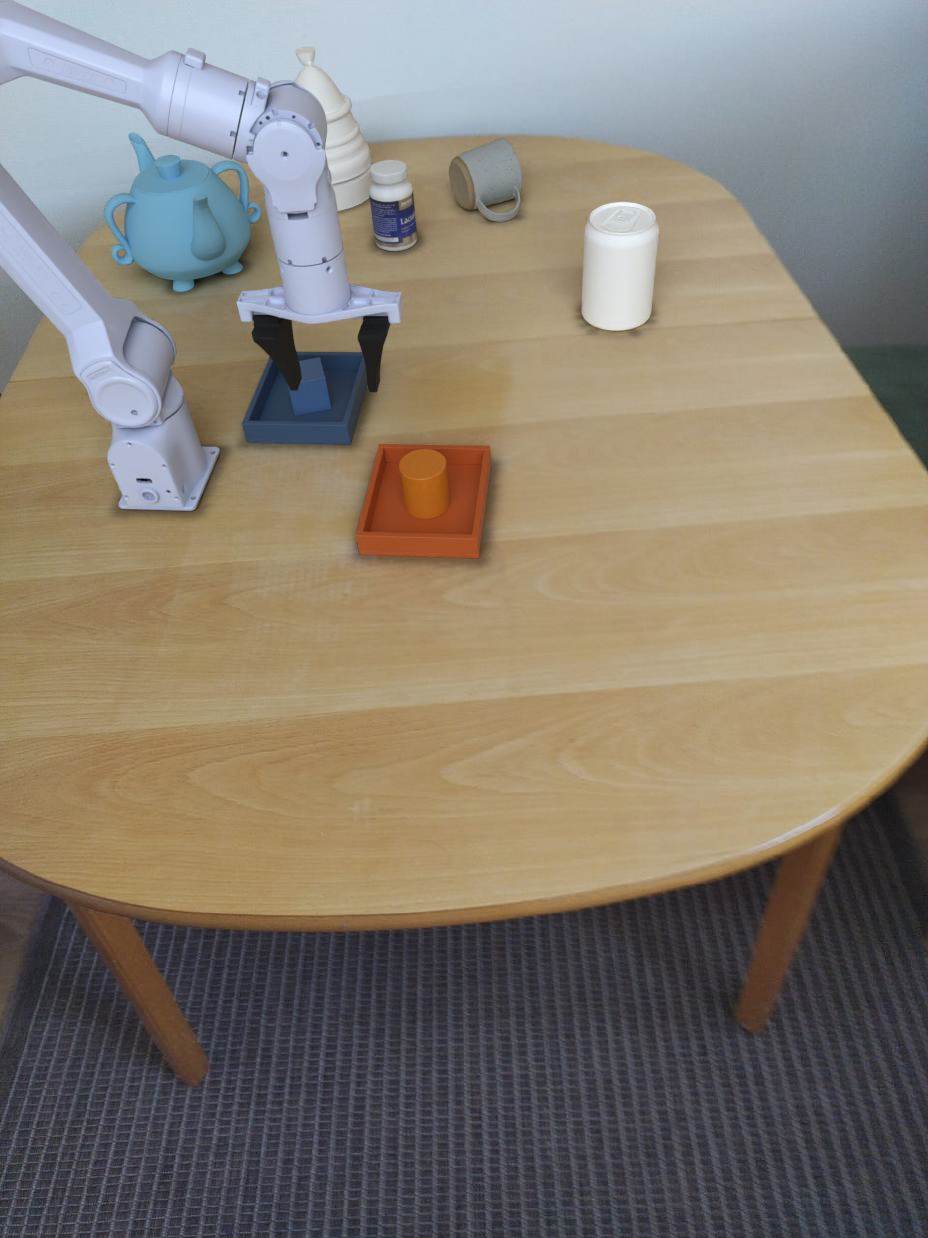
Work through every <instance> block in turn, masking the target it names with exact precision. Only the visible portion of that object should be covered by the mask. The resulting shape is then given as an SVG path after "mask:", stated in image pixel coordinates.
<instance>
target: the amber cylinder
mask: <svg viewBox="0 0 928 1238" xmlns="http://www.w3.org/2000/svg"><path fill="white" fill-rule="evenodd" d="M399 471H400V478H401V484H402V491H403V498H404V505H405V509H406V511H407V512H408V513H409V514H410V515H411V516H413V517H415V518H419V519H432V518H436V517H438V516H440V515H442V514H444V513H445V512H446V511H447V509H448V508H449V505H450V496H449V486H448V475H447V465H446V459H445V457H444V456H443V455H442V454H441V453H439V452H437V451H435V450H431V449H419V450H415V451H412V452H409V453H408V454H406V455H405V456H404V457H403V458H402V459H401V461H400V463H399Z"/></svg>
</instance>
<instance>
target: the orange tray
mask: <svg viewBox="0 0 928 1238" xmlns="http://www.w3.org/2000/svg"><path fill="white" fill-rule="evenodd" d="M419 449H431V450H435V451H437V452H439V453H441V454H442V455H443V456H444V457H445V459H446V465H447V475H448V486H449V496H450V505H449V508H448V509H447V511H446V512H445V513H444V514H442V515H440V516H438V517H436V518H432V519H419V518H415V517H413V516H411V515H410V514H409V513H408V512H407V511H406V509H405V505H404V498H403V491H402V484H401V478H400V471H399V463H400V461H401V459H402V458H403V457H404V456H405V455H406V454H408V453H409V452H412V451H415V450H419ZM491 449H492V448H491V445H476V444H475V445H469V444H468V445H467V444H419V443H418V444H417V443H416V444H414V443H413V444H412V443H410V444H409V443H402V444H401V443H379V444H378V447H377V451H376V454H375V458H374V463H373V466H372V470H371V475H370V478H369V483H368V486H367V490H366V493H365V498H364V501H363V506H362V509H361V514H360V517H359V521H358V525H357V529H356V532H355V533H356V534H355V539H356V545H357V547H358V548H357V549H358V553H359V555H360V556H389V557H390V556H392V557H418V558H419V557H424V558H451V559H454V558H455V559H456V558H457V559H480V556H481V555H480V554H481V547H482V541H483V533H484V525H485V524H484V523H485V516H486V510H487V501H488V493H489V487H490V486H489V485H490V479H491V470H492V452H491V451H492V450H491Z"/></svg>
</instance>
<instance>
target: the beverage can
mask: <svg viewBox="0 0 928 1238" xmlns="http://www.w3.org/2000/svg"><path fill="white" fill-rule="evenodd" d="M656 218H657V217H656V213H655V211H653V210H652V209H651V208H650V207H649V206H646V205H645V204H641V203H638V202H631V201H614V202H608V203H605V204H602V205H600V206H598V207H595V208H594V209H593V210H592V211H591V212H590V213H589V218H588V220H587V222H586V224H585V226H584V230H583V231H584V232H583V257H582V258H583V259H582V263H583V264H582V283H581V284H582V285H581V288H582V289H581V316H582V318H583V319H584V320H585V322H587V323H588V324H590V325H591V326H592V327H595V328H597V329H600V330H605V331H613V332H621V331H627V330H628V331H629V330H632V329H635V328H638V327H639V326H642V325H643V324H644V323H646V322H647V321H648V320H649V319H650V317H651V315H652V309H653V297H654V287H655V279H656V278H655V276H656V268H657V257H658V256H657V255H658V246H659V236H660V227H659V224H658V222H657V220H656Z"/></svg>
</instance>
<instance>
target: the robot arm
mask: <svg viewBox="0 0 928 1238" xmlns="http://www.w3.org/2000/svg"><path fill="white" fill-rule="evenodd" d="M206 58H207V54H206V53H205V52H203V51H200V50H199V49H196V48H192V47H188V48H187V51H186V52H185V54H183V53H181V52H179V51H177V50H172V49H171V50H168V51H167V52H165V53H164V54H162V55H160V56H157V57H155V58H151V59H148V58H145V57H143V56H141V55H139V54H136V53H134V52H131V51H129V50H127V49H125V48H123V47H120V46H118V45H115V44H113V43H111V42H108V41H106V40H104V39H102V38H100V37H97V36H95V35H92V34H90V33H88V32H85V31H83V30H81V29H79V28H76V27H75V26H71V25H70V24H68V23H65V22H62V21H60V20H59V19H55V18H53V17H51V16H48V15H46V14H44V13H42V12H39V11H37V10H35V9H32V8H30V7H28V6H26V5H23V4H21V3H19V2H17V1H15V0H0V86H3V85H4V84H7V83H10V82H12V81H15V80H17V79H20V78H22V77H29V78H33V79H36V80H40V81H43V82H47V83H48V84H49V83H50V84H54V85H56V86H60V87H64V88H67V89H70V90H73V91H77V92H80V93H83V94H87V95H90V96H92V97H93V96H94V97H97V98H100V99H102V100H103V99H104V100H107V101H111V102H114V103H117V104H121V105H124V106H127V107H130V108H134V109H137V110H140V112H141V113H142V114H143V115H144V116H145V118H146V120H147V121H148V122H149V124H150V125H151V127H152V129H153V130H154V131H155V132H156V133H157V134H158V135H161V136H163V137H167V138H169V139H172V140H175V141H177V142H181V143H184V144H187V145H190V146H192V147H195V148H198V149H201V150H203V151H207V152H210V153H212V154H215V155H218V156H220V157H223V158H226V159H230V160H232V161H234V162H238V163H241V164H247V165H248V167H249V169H250V171H251V172H252V174H253V175H254V177H255V178H256V179H257V180H258V181H259V182H260V183H261V185H262V189H263V193H264V194H263V195H264V206H265V211H266V217H267V220H268V225H269V229H270V234H271V239H272V243H273V248H274V252H275V257H276V261H277V266H278V271H279V275H280V280H281V284H282V285H279V286H275V287H268V288H263V289H262V288H261V289H256V290H242V291H241V293H240V294H239V296H238V299H237V300H236V307H237V310H238V315H239V319H240V321H241V323H242V322H244V323H247V322H248V323H251V322H253V323H252V326H253V328H252V330H251V333H250V334H251V337H252V340H253V342H254V343H255V344H256V345H257V346H258V347H260V349H262V350H263V351H264V353H265V354H267V355H268V358H269V357H270V358H271V359H272V360H273V361H274V363H275V364H276V366H277V367H278V369H279V370H280V372H281V373H282V375H283V377H284V379H285V380H286V382H287V384H288V386H289V388H290V390H291V391H297V390H298V387H299V385H300V382H301V379H302V375H301V368H300V363H299V359H298V356H297V352H298V351H297V348H296V344H295V338H294V329H293V328H294V327H293V321H294V322H297V323H301V324H307V325H308V324H309V325H318V324H319V325H320V324H326V323H332V322H337V321H343V320H362V323H361V324H360V327H359V330H358V332H357V337H356V338H357V342H358V344H359V347H360V350H361V352H362V354H363V357H364V361H365V366H366V375H367V389H368V392H369V393H377V392H378V390H379V387H380V383H381V365H382V364H381V363H382V357H383V351H384V347H385V342H386V339H387V338H388V335H389V330H390V327H391V324H393V325H394V324H398V325H400V324H402V319H403V316H404V301H403V293H402V292H401V291H387V290H381V289H376V288H374V287H373V288H372V287H367V286H363V285H359V284H355V283H350V279H349V273H348V268H347V267H348V266H347V261H346V260H347V259H346V255H345V247H344V241H343V234H342V227H341V222H340V216H339V211H338V209H337V203H336V196H335V192H334V189H333V187H332V185H331V182H332V179H331V172H330V170H329V167H328V162H327V157H326V152H325V146H326V138H327V120H326V115H325V112H324V109H323V107H322V105H321V103H320V102H319V100H318V99H317V98H316V97H315V96H314V95H313V94H312V93H311V92H310V91H308V90H307V89H305V88H303V87H301V86H300V85H298V84H297V83H296V82H295V80H290V79H283V80H277V81H273V82H272V83H271V81H270V80H269V79H266V78H263V77H261V76H257V78H256V81H255V80H253V79H250V78H247V77H245V76H242V75H239V74H237V73H234V72H232V71H229V70H226V69H224V68H221V67H218V66H216V65H213V64H210V63H207V62H206ZM0 267H1V268H2V270H3V271H4V272H6V274H7V275H8V276H9V277H10V278H11V279H12V281H14V283H15V284H16V285H17V286H18V287H19V288H20V289H21V290H22V291H23V293H24V294H25V295H26V296H27V297H28V298H29V299H30V300H31V301H32V303H34V305H35V306H36V307H37V308H38V309H39V310H40V311H41V313H42V314H43V315H44V316H45V317H46V318H47V319H48V320H49V321H50V322H51V324H52V325H54V327H55V328H56V329H57V330H58V331H59V332H60V333H61V335H63V337H64V338H65V341H66V344H67V350H68V354H69V359H70V364H71V368H72V372H73V374H74V376H75V377H76V378H77V379H78V380H79V381H80V382H81V383H82V385H83V386H84V388H85V389H86V391H87V394H88V398H89V401H90V403H91V405H92V407H93V409H94V410H95V412H97V413H98V415H99V416H100V417H102V418H103V419H104V420H106V421H108V422H109V423H110V424H111V431H112V434H111V441H110V444H109V447H108V450H107V453H106V459H107V463H108V464H107V465H108V467H109V469H110V471H111V473H112V475H113V477H114V480H115V482H116V484H117V487H118V489H119V491H120V493H121V497H120V499H119V501H118V504H117V505H118V507H119V509H121V510H143V511H144V510H147V511H181V512H183V511H185V512H187V511H188V512H191V511H194V510H196V509H197V507H198V505H199V502H200V501H201V498H202V495H203V493H204V492H205V488H206V486H207V484H208V481H209V479H210V477H211V475H212V473H213V470H214V467H215V465H216V462H217V460H218V458H219V456H220V453H221V450H220V448H219V446H202V444H201V441H200V437H199V435H198V432H197V429H196V426H195V423H194V421H193V417H192V413H191V412H190V411H191V410H190V408H189V405H188V403H187V400H186V397H185V394H184V390H183V388H182V386H181V384H180V383H179V381H178V380H177V379H176V377H175V374H174V372H173V369H172V367H173V365H175V364H174V363H175V361H176V358H177V344H176V341H175V339H174V337H173V335H172V334H171V333H170V331H169V330H168V329H167V328H166V327H165V326H164V325H163V324H161V323H159V322H158V321H156V320H154V319H152V318H150V317H148V316H147V315H146V314H144V313H143V312H142V311H141V310H140V308H139V307H137V305H136V304H135V303H134V302H133V301H132V300H129V299H124V298H119V297H114V296H112V295H111V294H110V293H109V291H108V290H107V289H106V288H105V287H104V286H103V284H102V283H101V282H100V281H99V280H98V278H97V277H96V276H95V275H94V273H93V272H92V271H91V270H90V269H89V268H88V266H87V265H86V264H85V263H84V262H83V260H82V259H81V258H80V257H79V255H78V254H77V253H76V252H75V251H74V249H73V248H72V247H71V245H70V244H68V243H67V241H66V240H65V239H64V238H63V236H62V235H61V234H60V233H59V232H58V230H57V229H56V228H55V226H54V225H52V222H50V221H49V220H48V219H47V217H46V216H45V215H44V214H43V212H42V211H41V210H40V209H39V207H38V206H37V205H36V204H35V203H34V202H33V201H32V199H31V198H30V197H29V196H28V194H27V193H26V192H25V191H24V190H23V189H22V187H21V186H20V185H19V184H18V182H17V181H16V180H15V179H14V178H13V176H12V175H11V174H10V173H9V172H8V170H7V169H6V168H5V167H4V165H3V164H2V163H1V162H0Z"/></svg>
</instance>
